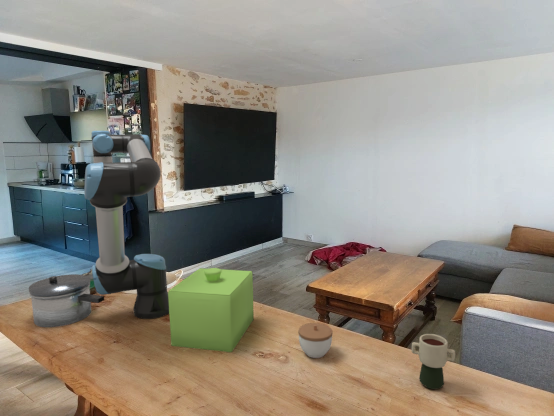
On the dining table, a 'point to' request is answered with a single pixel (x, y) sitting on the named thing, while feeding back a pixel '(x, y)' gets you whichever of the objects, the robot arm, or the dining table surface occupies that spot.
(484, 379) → the dining table surface
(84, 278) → the cooker lid
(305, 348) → the lidded jar
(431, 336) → the character mug
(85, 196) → the robot arm
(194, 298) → the canister
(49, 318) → the cooker pot
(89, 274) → the food container
